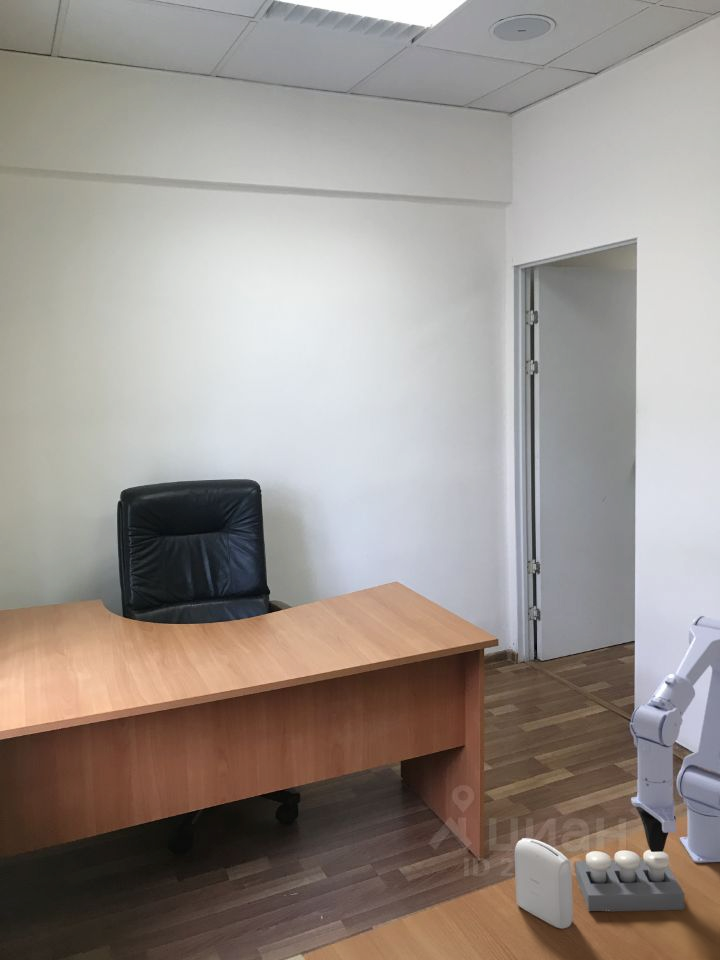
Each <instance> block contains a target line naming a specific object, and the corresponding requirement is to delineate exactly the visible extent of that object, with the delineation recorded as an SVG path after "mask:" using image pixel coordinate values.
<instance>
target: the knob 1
mask: <svg viewBox="0 0 720 960" xmlns="http://www.w3.org/2000/svg"><path fill="white" fill-rule="evenodd" d="M611 860H612V858H611V856H610V855H609V854H607V853H605V852H603V851H597V850H594V851H590V852H588V853H586V855H585V861H586V864H587V866H588V867H590V868H591V880H592V881H593V882H595V883H605V882H606V870H607V869H609V868H610V867H611Z"/></svg>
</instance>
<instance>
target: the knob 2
mask: <svg viewBox="0 0 720 960" xmlns="http://www.w3.org/2000/svg"><path fill="white" fill-rule="evenodd" d="M642 858H643V860H644V863H645V864H646V865H647V866H648V875H649V878H650V879H651V880H652V881H655V882H661V881H663V880H664V868H666V867H668V866H669V867H670V857H669V855H668V854H667V853H666V852H664V851H663V852H651V850H650V849H647V850H645V851H643V857H642Z"/></svg>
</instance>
